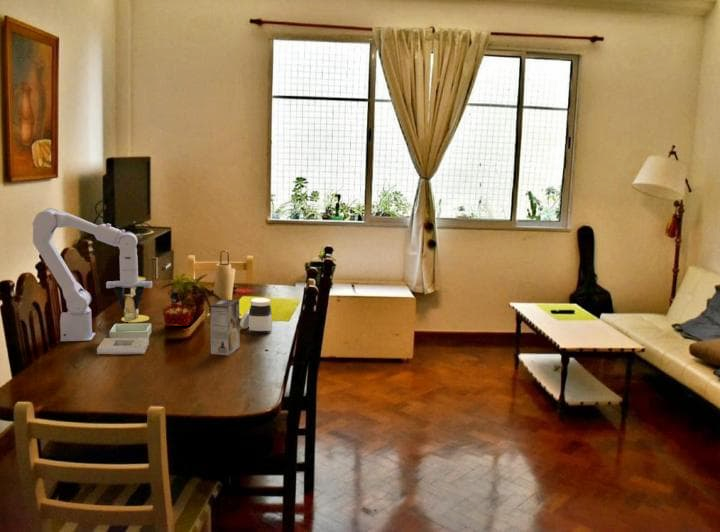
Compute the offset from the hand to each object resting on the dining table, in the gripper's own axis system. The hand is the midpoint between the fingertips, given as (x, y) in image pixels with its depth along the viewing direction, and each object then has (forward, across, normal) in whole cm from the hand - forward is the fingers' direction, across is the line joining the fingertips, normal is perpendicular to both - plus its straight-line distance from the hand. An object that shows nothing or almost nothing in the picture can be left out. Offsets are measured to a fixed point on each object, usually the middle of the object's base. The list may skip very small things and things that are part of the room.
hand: (130, 308), depth 226 cm
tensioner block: (+10, 0, -14) cm, 17 cm away
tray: (+10, 0, 0) cm, 10 cm away
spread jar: (+10, +42, +4) cm, 43 cm away
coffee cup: (+10, +16, +13) cm, 23 cm away
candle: (+10, -2, +22) cm, 24 cm away
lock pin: (+3, 0, 0) cm, 3 cm away
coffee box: (+10, +32, -18) cm, 38 cm away
